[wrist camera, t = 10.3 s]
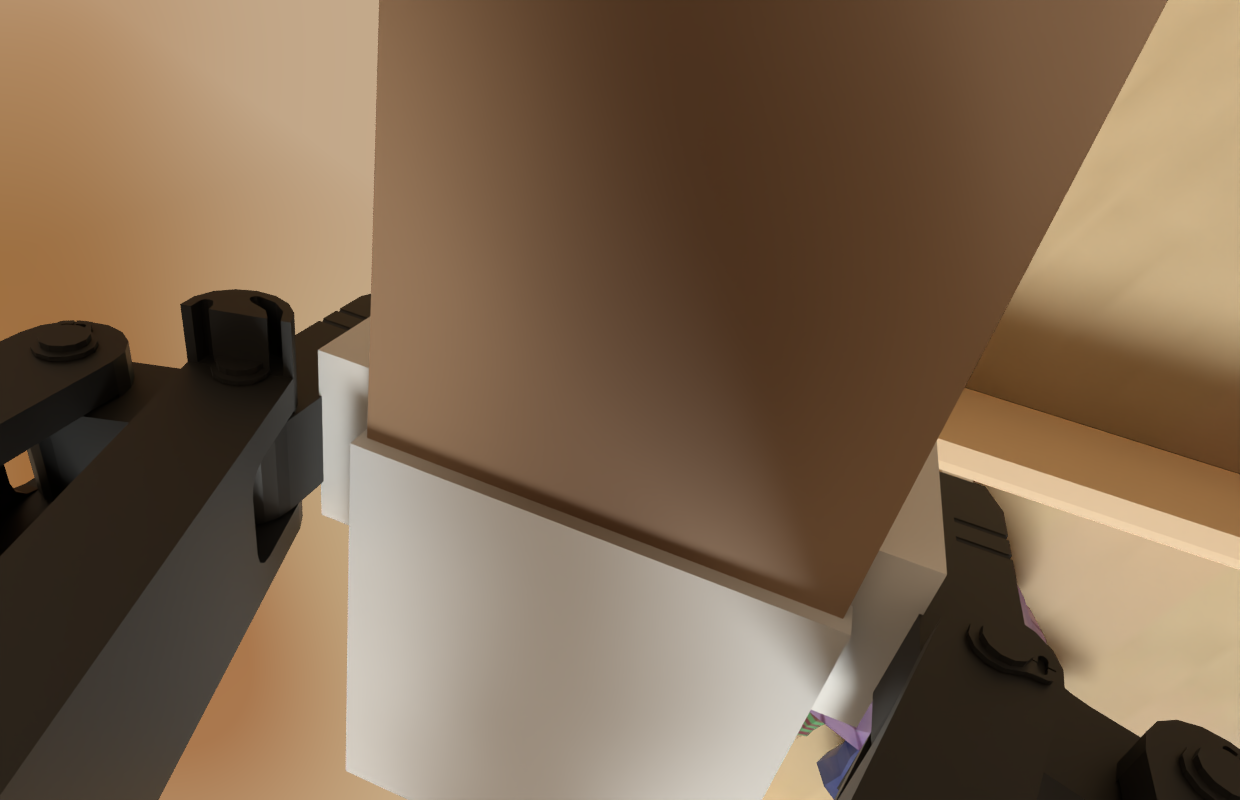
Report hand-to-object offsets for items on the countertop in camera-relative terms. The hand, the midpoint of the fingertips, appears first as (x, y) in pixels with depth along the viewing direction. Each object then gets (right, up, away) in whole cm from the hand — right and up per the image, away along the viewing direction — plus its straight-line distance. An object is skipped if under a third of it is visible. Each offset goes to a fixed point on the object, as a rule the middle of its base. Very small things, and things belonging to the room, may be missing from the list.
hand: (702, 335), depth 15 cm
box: (+1, +2, -1) cm, 3 cm away
